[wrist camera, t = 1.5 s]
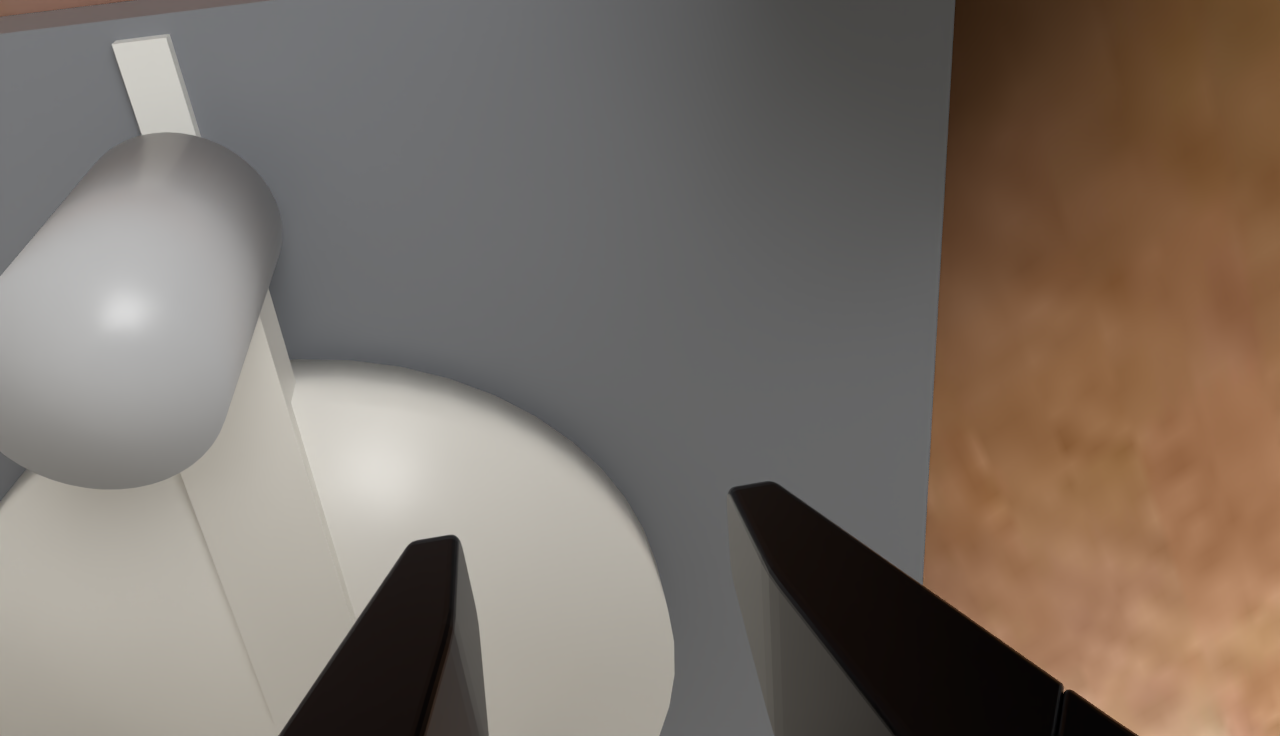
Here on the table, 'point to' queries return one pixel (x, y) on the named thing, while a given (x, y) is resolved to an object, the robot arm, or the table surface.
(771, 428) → the dial plate
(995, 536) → the table surface
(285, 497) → the dial
